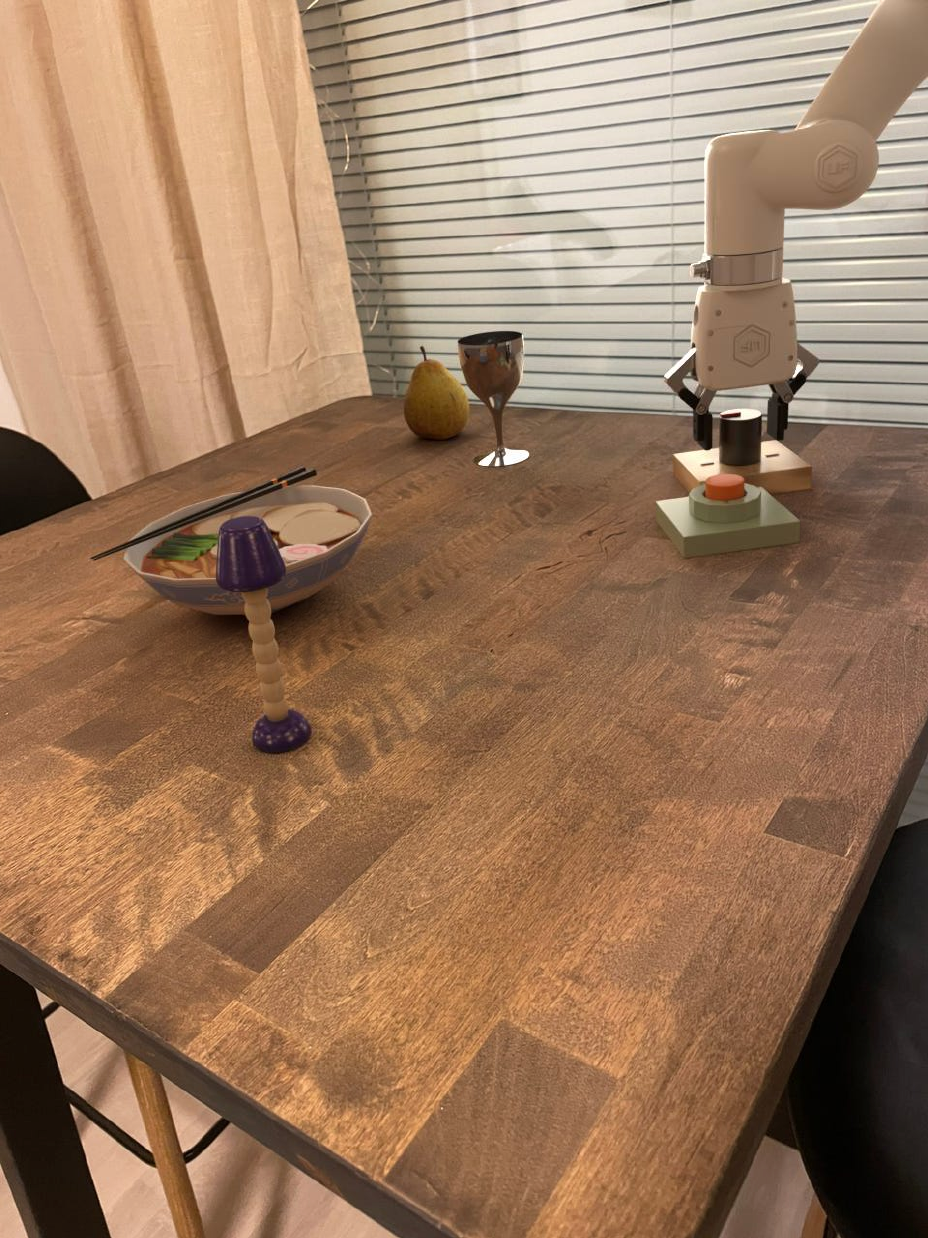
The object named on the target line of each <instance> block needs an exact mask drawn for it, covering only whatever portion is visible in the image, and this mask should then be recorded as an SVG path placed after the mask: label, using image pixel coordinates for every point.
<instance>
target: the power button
mask: <svg viewBox="0 0 928 1238" xmlns="http://www.w3.org/2000/svg"><path fill="white" fill-rule="evenodd" d="M744 483H745V480H744V478H743V477H741V476H739V475H735V474H718V475H714V476H711V477H708V478H707V479H706V498H707V499H711V500H716V501H730V500H737V499H740V498H743V497H744Z"/></svg>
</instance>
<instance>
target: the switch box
mask: <svg viewBox="0 0 928 1238" xmlns="http://www.w3.org/2000/svg"><path fill="white" fill-rule="evenodd" d="M654 504H655V522H656V523H657V525H658V526H659V527H660V529H661V530H662V531H663V533H664V534H665V536H667V538H668V539H669V541H670V542H671V543H672V545H673V546H674V547H675V548H676V550H677V551H678V552H679V554H680V555H681V556H682V558H683V559H690V558H697V557H705V556H713V555H719V554H726V553H733V552H742V551H749V550H756V549H763V548H770V547H777V546H783V545H791V544H798V543H800V540H801V539H800V538H801V537H800V536H801V535H800V534H801V520H800V519H799V518H798V517H796V516H795V515H794V514H793V513H792V512H791V511H790V510H788V509H787V508H786V506H784V505H783V504H782V503H780V501H778V499H776V498H775V497H774V496H772V494H769V493H768V492H767V491H766V490H765V489H763V488H762V487H755V486H753V485H750V484H746V483H744V497H743V498H740V499H737V500H730V501H716V500H711V499H707V498H706V484H703V485H701V486H698V487H696V488H694V489H693V490H692V491H691V493H689V494H688V496H684V497H677V498H669V499H661V500H656V501H655V503H654Z"/></svg>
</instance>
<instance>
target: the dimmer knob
mask: <svg viewBox="0 0 928 1238" xmlns="http://www.w3.org/2000/svg"><path fill="white" fill-rule="evenodd" d="M762 432H763V412H762V411H760V410H758V409H752V408H734V409H728V410H725V411H722V412H720V413H719V416H718V448H719V461H720V462H721V463H723V464H727V465H733V466H743V465H750V464H754V463H757V462H758V461H760V459H761V442H762V435H763V434H762Z"/></svg>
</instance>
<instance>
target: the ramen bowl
mask: <svg viewBox="0 0 928 1238" xmlns="http://www.w3.org/2000/svg"><path fill="white" fill-rule="evenodd" d="M316 476H318V475H317V469H316V468H310V469H307V468H306V466H303V465H302V466H298V467H297V468H294V469H292V470H289V471H287V472H284V473H282V474H280V475H278V476H275V477H273V478H272V479H268V480H266V481H264V482H262V483H260V484H257V485H255V486H253V487H251V488H248V489H246V490H244V491H239V492H233V493H227V494H223V495H219V496H216V497H212V498H210V499H207V500H203V501H200V502H197V503H193V504H190V505H188V506H183V507H181V508H179V509H177V510H175V511H173V512H171V513H169V514H166V515H164V516H162V517H160V518H158V519H156V520H154V521H152V522H149V523H148V524H147V525H146V526H144V527H143V528H142V529H141V530H140V531H138V532H137V533H136V534H135V535H133V536H132V537H131V538H130V539H128V541H126V542H124V543H121V544H119V545H117V546H114V547H112V548H110V549H108V550H105V551H103V552H100V553H98V554H96V555H93V556H92V557H89V558H90V560H93V562H94V561H97V560H99V559H103V558H105V557H109V556H111V555H112V554H115V553H119V552H121V551H123V550H124V554H123V560H124V562H125V563H126V564H127V565H128V566H129V567H130V568H131V569H132V570H133V571H134V572H135V574H137V576H138V577H140V578H141V579H142V580H143V581H144V582H145V583H146V584H147V585H148V586H150V588H152V589H153V590H155V591H156V592H157V593H158V594H159V595H161V596H162V597H163V598H165V599H166V600H167V601H170V602H171V603H172V604H174V605H176V606H178V607H181V608H185V609H189V610H192V611H197V612H201V613H205V614H209V615H215V616H232V615H234V616H235V615H236V616H237V615H238V616H239V615H241V616H246V614H245V610H244V607H245V602H246V601H245V600H244V599H243V597H242V595H241V592H231V591H227V590H224V589H222V588H221V587H220V586H218V584H217V581H216V562H217V547H218V535H219V529H220V526H221V525H222V524H223V523H224V522H226V521H227V520H230V519H233V518H237V517H242V516H256V517H259V518H261V519H263V520H264V522H265V523H266V525H267V527H268V529H269V531H270V533H271V535H272V537H273V539H274V541H275V543H276V545H277V548H278V550H279V552H280V554H281V556H282V559H283V561H284V563H285V566H286V575H285V577H284V578H283V579H282V580H281V581H280V582H278V583H277V584H275V585H273V586H270V587H268V588H267V590H268V593H267V597H266V599H267V600H268V601H269V603H270V606H271V614H272V613H276V612H278V611H280V610H284V609H286V608H288V607H290V606H292V605H293V604H295V603H297V602H301V601H303V600H306V599H308V598H310V597H312V596H313V595H315V594H316V593H318V592H319V591H321V590H322V589H324V588H326V587H328V586H329V585H330V584H331V583H333V582H334V581H336V579H338V578H339V577H340V576H341V574H343V572H344V570H345V569H346V567H347V566H348V564H349V563H350V562H351V560H352V559H353V558H354V556H355V554H356V552H357V551H358V549H359V548H360V546H361V544H362V543H363V540H364V538H365V536H366V534H367V532H368V529H369V526H370V523H371V520H372V516H373V513H372V510H371V508H370V506H369V503H368V501H367V499H366V498H364V497H362V496H360V495H359V494H356V493H353V492H352V491H350V490H347V489H345V488H338V487H332V486H331V487H330V486H322V485H321V486H320V485H313V484H305V485H304V484H303V485H294V484H297V483H300V482H303V481H305V480H309V479H310V478H313V477H316Z"/></svg>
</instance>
